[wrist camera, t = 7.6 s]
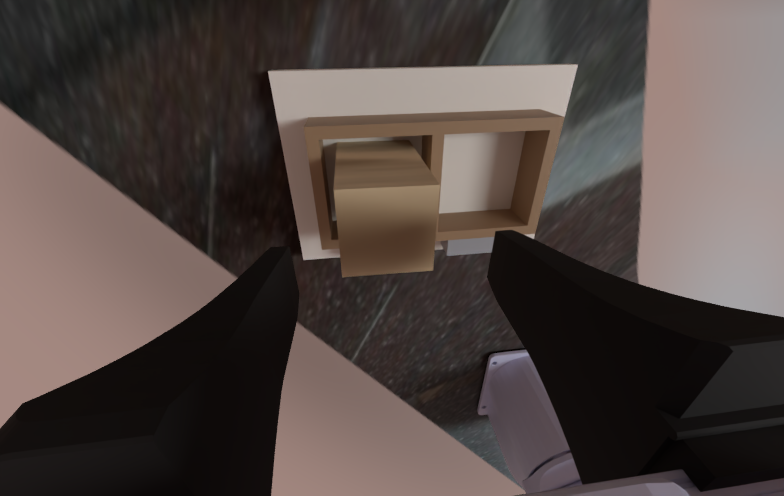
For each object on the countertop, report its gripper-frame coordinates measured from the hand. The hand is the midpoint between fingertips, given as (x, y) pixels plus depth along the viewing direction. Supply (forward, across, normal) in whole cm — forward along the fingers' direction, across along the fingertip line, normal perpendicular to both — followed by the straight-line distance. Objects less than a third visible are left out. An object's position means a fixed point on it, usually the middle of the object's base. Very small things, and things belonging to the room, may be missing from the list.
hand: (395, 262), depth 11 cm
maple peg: (+9, 0, 0) cm, 9 cm away
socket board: (+10, -3, 0) cm, 11 cm away
